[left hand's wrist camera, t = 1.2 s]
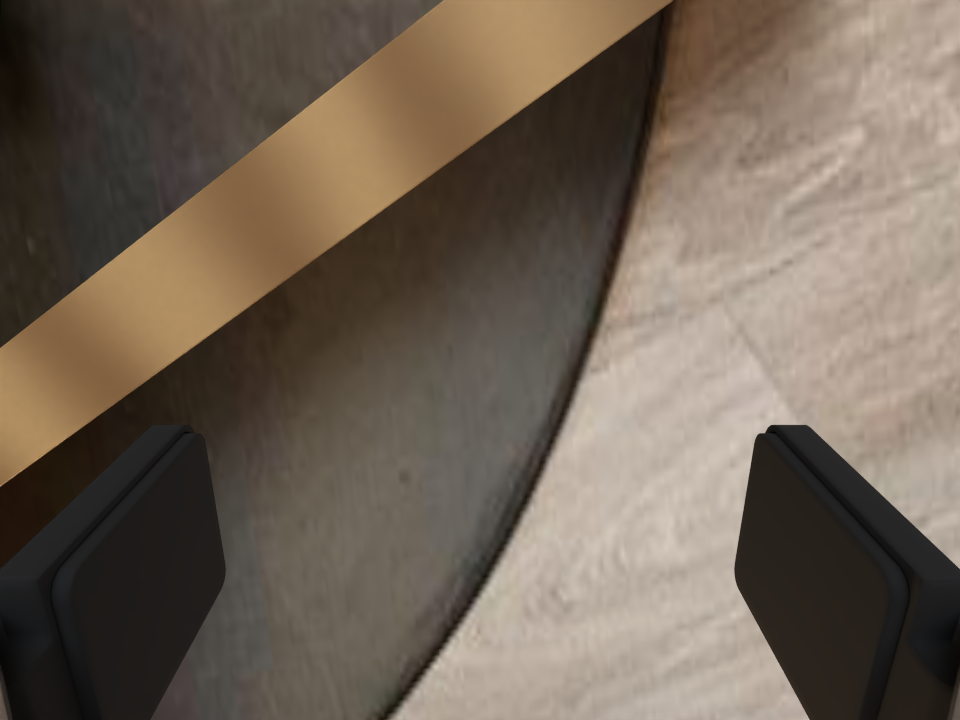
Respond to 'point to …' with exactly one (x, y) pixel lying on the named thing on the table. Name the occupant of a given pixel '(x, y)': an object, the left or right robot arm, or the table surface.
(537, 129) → the table surface
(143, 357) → the bar
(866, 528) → the left robot arm
